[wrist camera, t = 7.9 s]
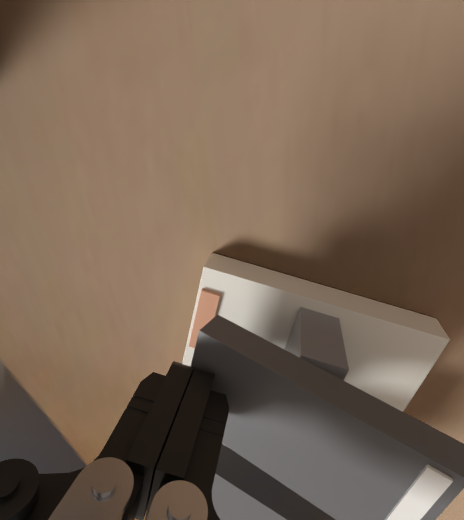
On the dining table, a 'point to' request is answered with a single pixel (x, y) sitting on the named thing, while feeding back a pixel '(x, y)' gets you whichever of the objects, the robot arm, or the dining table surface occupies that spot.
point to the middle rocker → (256, 493)
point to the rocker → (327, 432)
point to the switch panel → (363, 329)
